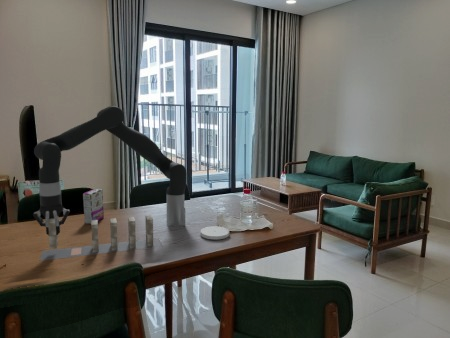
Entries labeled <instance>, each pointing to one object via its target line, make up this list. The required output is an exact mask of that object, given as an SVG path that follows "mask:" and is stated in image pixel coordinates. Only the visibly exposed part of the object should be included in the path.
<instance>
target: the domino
mask: <svg viewBox="0 0 450 338" xmlns="http://www.w3.org/2000/svg"><path fill="white" fill-rule="evenodd" d="M48 228H49V236H48V239H49V240H48V241H49V250H55V249H58V245H59V238H58V237H59V234H58V235H56V221H55V218H49V219H48Z"/></svg>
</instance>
